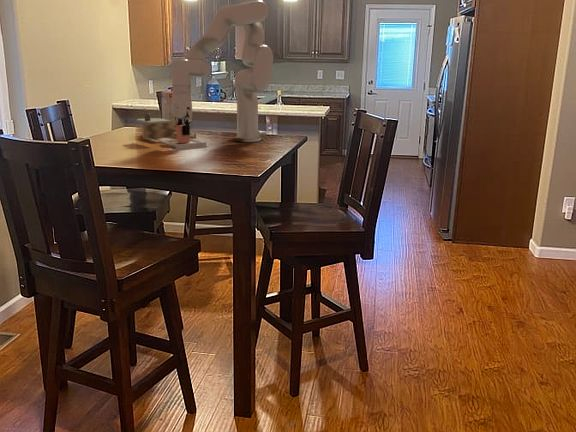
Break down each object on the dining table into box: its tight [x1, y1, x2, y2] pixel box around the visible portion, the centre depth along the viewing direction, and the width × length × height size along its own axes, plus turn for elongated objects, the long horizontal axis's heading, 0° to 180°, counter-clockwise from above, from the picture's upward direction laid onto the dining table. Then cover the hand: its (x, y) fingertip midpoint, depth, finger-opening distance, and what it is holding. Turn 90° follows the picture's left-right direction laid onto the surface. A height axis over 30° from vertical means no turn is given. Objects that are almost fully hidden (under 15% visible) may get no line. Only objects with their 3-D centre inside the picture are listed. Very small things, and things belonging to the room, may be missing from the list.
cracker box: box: [160, 90, 175, 120], centre depth 264 cm, size 14×6×21 cm, turn 22°
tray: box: [160, 138, 207, 151], centre depth 236 cm, size 14×14×2 cm
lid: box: [136, 112, 171, 124], centre depth 242 cm, size 10×13×4 cm
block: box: [176, 125, 191, 144], centre depth 235 cm, size 4×4×7 cm
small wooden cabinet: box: [141, 118, 200, 145], centre depth 249 cm, size 22×13×9 cm, turn 129°
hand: (183, 133), depth 235 cm, fingers open, 4 cm apart
